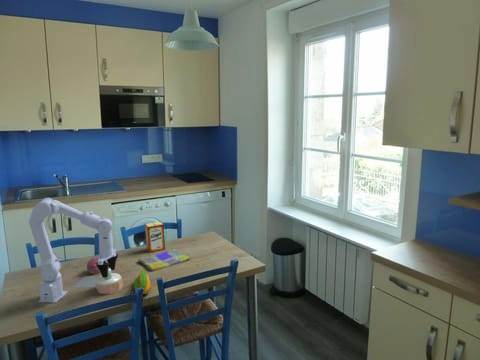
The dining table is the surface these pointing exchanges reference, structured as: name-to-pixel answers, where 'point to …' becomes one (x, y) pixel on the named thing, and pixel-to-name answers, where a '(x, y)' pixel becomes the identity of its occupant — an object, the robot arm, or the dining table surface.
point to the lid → (108, 278)
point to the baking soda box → (155, 236)
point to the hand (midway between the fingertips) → (108, 273)
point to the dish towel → (163, 260)
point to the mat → (87, 282)
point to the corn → (142, 282)
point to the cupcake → (93, 266)
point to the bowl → (110, 287)
